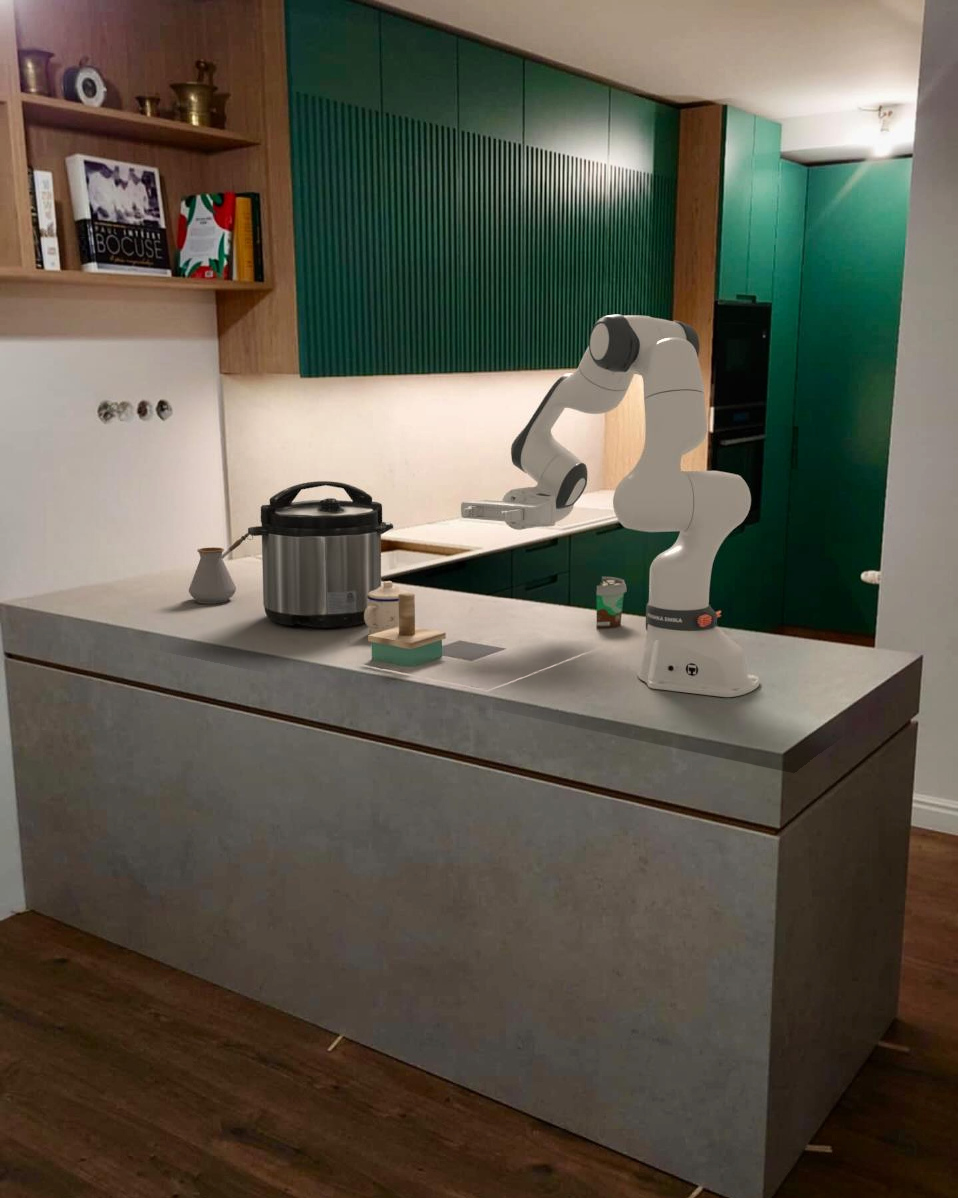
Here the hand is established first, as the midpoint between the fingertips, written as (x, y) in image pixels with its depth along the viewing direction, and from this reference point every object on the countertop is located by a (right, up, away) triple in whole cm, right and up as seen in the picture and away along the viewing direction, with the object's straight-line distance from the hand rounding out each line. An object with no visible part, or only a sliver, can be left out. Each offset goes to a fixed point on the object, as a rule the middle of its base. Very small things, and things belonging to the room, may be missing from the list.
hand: (484, 514), depth 244 cm
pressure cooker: (-37, -22, +31) cm, 53 cm away
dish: (-16, -29, -6) cm, 34 cm away
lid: (-16, -25, -7) cm, 31 cm away
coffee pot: (-65, -17, +54) cm, 86 cm away
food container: (+29, -23, +24) cm, 44 cm away
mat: (-4, -28, -1) cm, 29 cm away
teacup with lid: (-22, -25, +14) cm, 36 cm away
